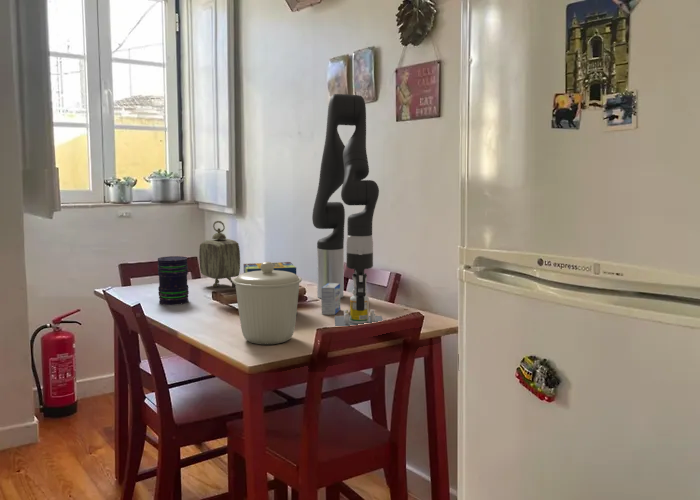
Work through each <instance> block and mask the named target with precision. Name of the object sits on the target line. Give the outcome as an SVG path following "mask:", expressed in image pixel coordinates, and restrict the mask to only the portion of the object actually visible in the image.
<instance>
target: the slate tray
mask: <svg viewBox="0 0 700 500" xmlns="http://www.w3.org/2000/svg"><path fill="white" fill-rule="evenodd" d="M369 310H370V311H369V321H368V322H367V323H372V322H378V321H382V320H383V321H384V319H383V316H382V315H376V313H375V309H369ZM350 325H358V324H355V323H352V322H351V321H350V313H349V309H344V310H343V315H334V327H335V326H350Z"/></svg>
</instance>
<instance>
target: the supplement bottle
mask: <svg viewBox="0 0 700 500" xmlns="http://www.w3.org/2000/svg"><path fill="white" fill-rule="evenodd" d="M351 291H352V294H353V295H352V296H350V298H349V316H350V321H351V322H352V323H355V324H364V323H367V322H368V321H369V316H370V311H369V310H370V309H369V308H370V307H369V305H370V304H369V303H370V300H369V296H367V295H365V297H364V310H363V311H357V309H356V291H355V290H354V288H352V290H351ZM358 292H363V291H362V290H358ZM365 293H366V294H367V289H366V290H365Z"/></svg>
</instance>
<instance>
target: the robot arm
mask: <svg viewBox="0 0 700 500" xmlns="http://www.w3.org/2000/svg"><path fill="white" fill-rule="evenodd" d="M326 117H327V118H326V132H325V140H324V145H323V152H322V155H321V156H322V158H321V163H320V171H319V177H318V178H319V179H318V187H317V191H316V195H315V200H314V205H313V209H312V224H313V227H314V228H315V229H320V230H329V229H331V230H332V232H331V233H330V234H328V235H327V236H325V237H322V238H320V239H318V240H317V243H316V252H317V253H316V259H317V260H316V263H317V267H316V270H317V271H316V272H317V273H316V274H317V278H316V279H317V280H316V281H317V282H316V283H317V285H316V287H317V288H316V289H317V291H316V292H317V298H318V299H321V288H322V287H324V286H325V285H326V284H328V283H338V284H340V299H342V298H344V293H345V292H344V291H345V290H344V289H345V287H344V284H345V283H344V277H345V275H344V269H345V267H344V266H345V265H344V262H345V261H344V259H345V258H344V257H345V256H344V255H345V254H344V251H345V249H344V243H345V221H346V211H345V207H344V205H347V206H364V209H363V210H362V211H359V212H357V213H352V214H350V215H348V216H347V226H346V227H347V237H346V267H347V268H348V269H351V270H353V272H354V273H352V285H353V289H354V290H355V291H356V309H357V311H363V310H364V297H365V296H367V293H365V290H366V291H367V281H368V275H367V273H365V270H369V269H372V268H373V267H374V241H373V220H374V219H373V218H374V214H375V209H376V207H377V206H376V205H377V202H378V199H379V195H380V189H379V186H378V183H376V182H377V181H374V180H373V179H371V180H369V179H367V180H366V178H367V177H368V176H369V173H370V168H369V167H370V166H369V161H368V154H367V153H368V152H367V108H366V102H365V99H364V97H363V96H362V95H359V94H345V93H334V94H332V95H331V96H330V98H329V101H328V107H327V116H326ZM339 126H351V127H352V126H355V129H354V132H353V134H352V135H351V137H350V138H349V140H348V141H347V143H346V144H344V142H343V141H342V138H341V136H340V134H339V131H338V128H339ZM364 179H365V180H364ZM340 187H341V191H340V199H341V200H342V202H343V203H342V202H341V201H329V200H330V199H331V197H332V196H333V194H334V193H335V192H336V191H338V189H339V188H340ZM358 290H362V291H363V292H358Z"/></svg>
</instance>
